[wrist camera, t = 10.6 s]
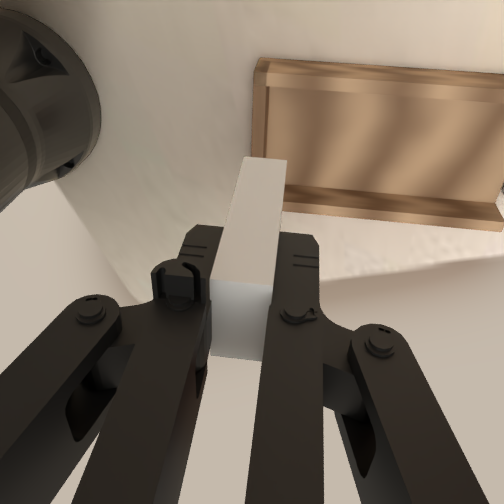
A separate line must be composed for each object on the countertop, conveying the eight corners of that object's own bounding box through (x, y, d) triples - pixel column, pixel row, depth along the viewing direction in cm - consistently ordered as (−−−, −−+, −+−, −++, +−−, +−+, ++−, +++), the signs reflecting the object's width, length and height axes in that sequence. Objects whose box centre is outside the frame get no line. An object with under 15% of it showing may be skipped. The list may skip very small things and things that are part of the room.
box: (255, 186, 46) (249, 207, 43) (260, 57, 39) (253, 71, 35) (488, 208, 44) (501, 232, 41) (540, 76, 37) (560, 93, 34)
